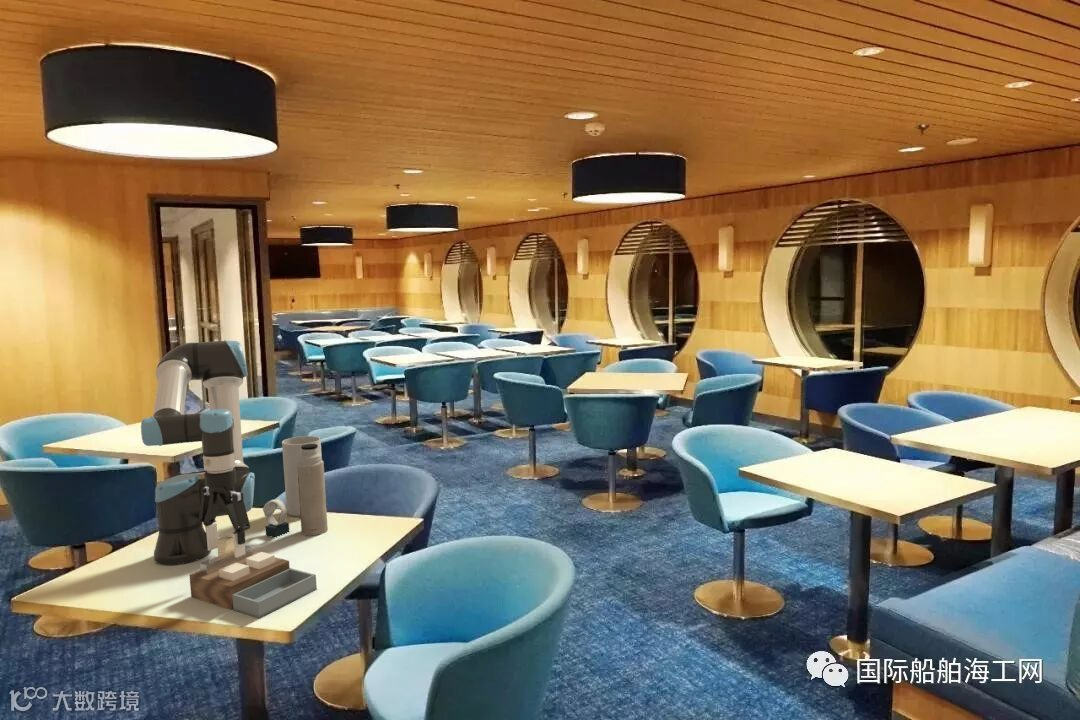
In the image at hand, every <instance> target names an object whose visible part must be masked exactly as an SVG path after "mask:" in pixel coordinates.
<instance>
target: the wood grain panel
mask: <svg viewBox="0 0 1080 720" xmlns="http://www.w3.org/2000/svg"><path fill="white" fill-rule="evenodd" d="M258 553H259V552H255V551H253V555H255V554H258ZM237 563H240V564H243V565H246V559H244V560H241V561H239V562H237ZM290 568H291V567H290V560H288V559H284V558H280V557H276V556H275V563H272V564H270V565H268V566H266V567H263V568H261V569H256V568H253V567H249V572H250V574H247V575H245V576H243V577H241V578H238V579H236V580H234V581H231V580H228V579H224V578H221V577H220V575H219V570H217V571H215V572H213V573H210V574H208V575H206V574H203V573H201V570H200V569H199V570H197V571H195V572H192V573H191V574H189V587H190V597H191V598H193V599H197V600H199V601H202V602H206V603H208V604H212V605H216V606H218V607H222V608H225V609H229V610H231V611H234V610H233V599H232V595H233V594H235V593H237V592H239V591H241V590H244V589H246V588H248V587H250V586H252V585H255V584H257V583H259V582H261V581H263V580H266V579H268V578H270V577H272V576H274V575H276V574H279V573H281V572H283V571H285V570H287V569H290Z"/></svg>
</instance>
